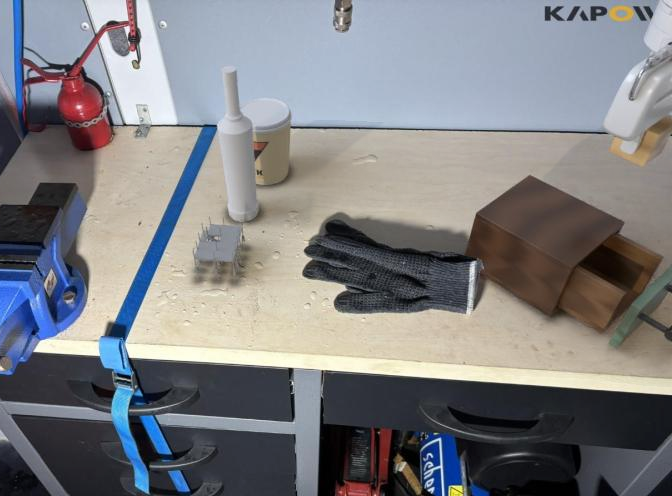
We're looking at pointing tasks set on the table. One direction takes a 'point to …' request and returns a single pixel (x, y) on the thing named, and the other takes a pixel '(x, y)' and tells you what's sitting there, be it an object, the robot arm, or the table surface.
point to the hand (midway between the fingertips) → (641, 141)
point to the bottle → (237, 152)
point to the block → (647, 143)
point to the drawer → (617, 288)
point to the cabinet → (537, 240)
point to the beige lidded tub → (269, 138)
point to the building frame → (219, 246)
